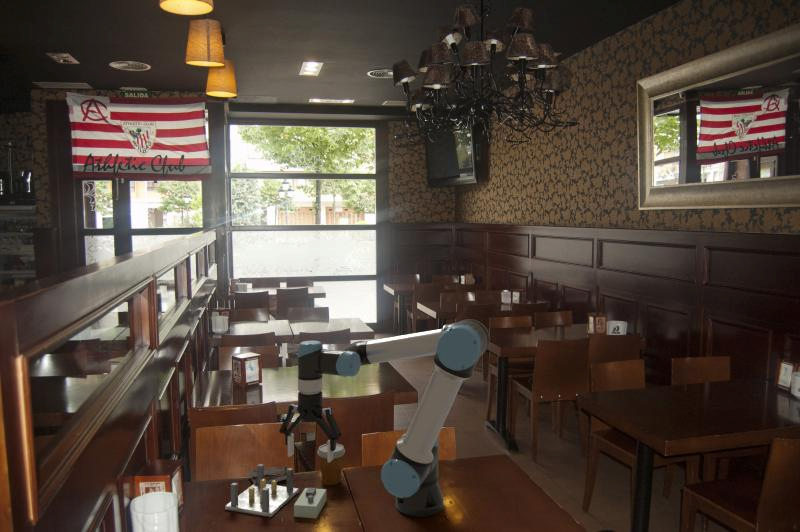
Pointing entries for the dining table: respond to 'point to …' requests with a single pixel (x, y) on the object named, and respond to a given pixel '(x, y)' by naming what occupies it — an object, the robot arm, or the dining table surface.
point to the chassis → (262, 495)
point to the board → (310, 503)
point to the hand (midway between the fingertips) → (310, 458)
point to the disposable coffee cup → (331, 464)
